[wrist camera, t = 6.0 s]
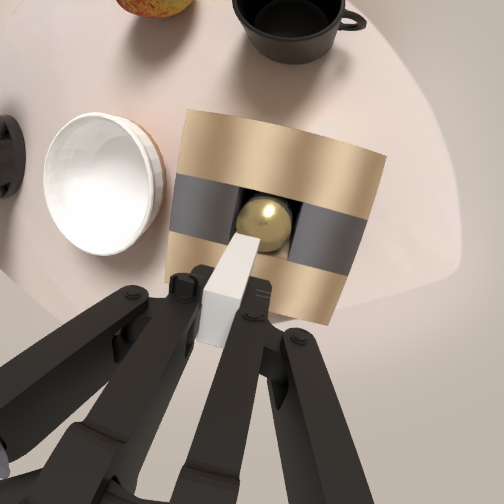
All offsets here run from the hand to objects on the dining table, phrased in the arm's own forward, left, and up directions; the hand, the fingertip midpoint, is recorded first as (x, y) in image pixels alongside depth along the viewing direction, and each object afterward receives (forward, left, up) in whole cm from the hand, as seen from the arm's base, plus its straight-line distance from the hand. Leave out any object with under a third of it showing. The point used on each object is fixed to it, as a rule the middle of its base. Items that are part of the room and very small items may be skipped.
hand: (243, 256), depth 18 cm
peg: (0, 0, -16) cm, 16 cm away
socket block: (0, 0, -17) cm, 17 cm away
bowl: (-19, -1, -17) cm, 25 cm away
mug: (-1, +20, -17) cm, 26 cm away
